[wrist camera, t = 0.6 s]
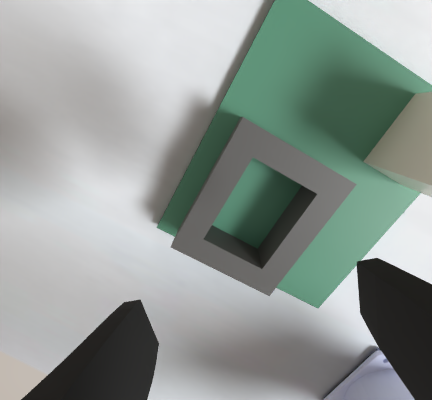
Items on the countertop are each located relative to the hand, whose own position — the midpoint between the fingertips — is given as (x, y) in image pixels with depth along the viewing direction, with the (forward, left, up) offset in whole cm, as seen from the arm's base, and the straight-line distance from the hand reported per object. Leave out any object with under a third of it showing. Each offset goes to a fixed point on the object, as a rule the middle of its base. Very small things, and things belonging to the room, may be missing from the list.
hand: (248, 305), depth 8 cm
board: (-3, -4, -10) cm, 11 cm away
